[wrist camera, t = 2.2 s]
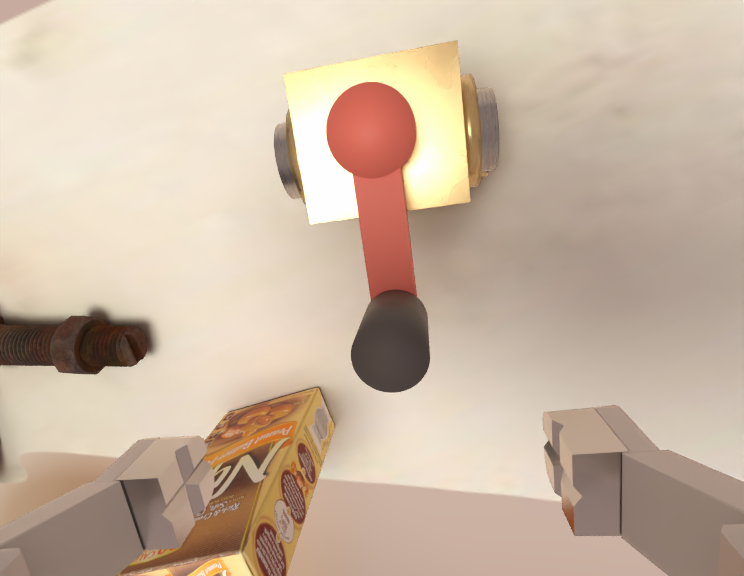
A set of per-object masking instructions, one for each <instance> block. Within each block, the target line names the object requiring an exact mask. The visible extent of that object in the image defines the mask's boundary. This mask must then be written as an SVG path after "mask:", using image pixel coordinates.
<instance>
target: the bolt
mask: <svg viewBox="0 0 744 576" xmlns="http://www.w3.org/2000/svg"><path fill="white" fill-rule="evenodd" d="M146 352H147V345H146V338H145V336H144V334H143V332H142V331H141V329H140V328H138V327H137V326H109V325H108V324H107V322H106V321H104V320H101V319H97V318H93V317H87V316H71V317H69V318H68V319H67V320H66V321H64V322H63V323H62V324H61V325H59V326H43V325H36V326H35V325H24V326H23V325H4V321H3V318H2V317H0V365H21V366H22V365H25V366H55V367H56V368H57V370H58V371H59V372H62V373H73V374H98V373H99V372H100V371H101V370H102V369H103V368H104V367H105V366H121V367H122V366H124V367H127V366H128V367H131V366H134V365H136V364H137V363H138V362H139V361H140V360H142V359H143V358H144V357H145V354H146Z"/></svg>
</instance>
